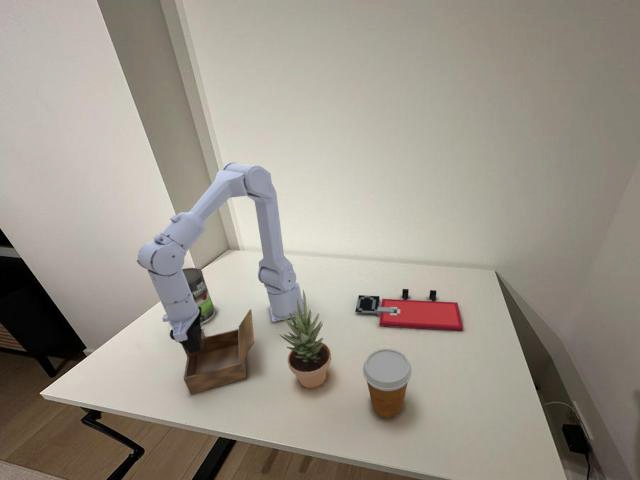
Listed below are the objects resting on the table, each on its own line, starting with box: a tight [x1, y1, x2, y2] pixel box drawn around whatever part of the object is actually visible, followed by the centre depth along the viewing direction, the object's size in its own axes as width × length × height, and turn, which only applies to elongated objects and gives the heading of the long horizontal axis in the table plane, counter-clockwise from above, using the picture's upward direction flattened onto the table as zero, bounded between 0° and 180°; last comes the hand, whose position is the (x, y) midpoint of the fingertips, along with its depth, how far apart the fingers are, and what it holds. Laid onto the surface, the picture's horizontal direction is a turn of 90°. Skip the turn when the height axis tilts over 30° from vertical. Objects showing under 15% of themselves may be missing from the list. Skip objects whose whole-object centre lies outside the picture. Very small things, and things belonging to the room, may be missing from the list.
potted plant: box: [279, 289, 332, 389], centre depth 68 cm, size 10×10×25 cm
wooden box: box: [183, 328, 247, 395], centre depth 77 cm, size 12×13×5 cm
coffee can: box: [182, 267, 216, 326], centre depth 92 cm, size 10×10×14 cm
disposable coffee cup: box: [362, 348, 413, 419], centre depth 64 cm, size 10×10×12 cm
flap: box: [238, 309, 255, 362], centre depth 76 cm, size 6×13×1 cm
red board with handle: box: [354, 288, 464, 332], centre depth 93 cm, size 30×3×15 cm
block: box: [181, 328, 207, 358], centre depth 73 cm, size 4×4×4 cm
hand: (196, 344), depth 73 cm, fingers closed on block, 4 cm apart
